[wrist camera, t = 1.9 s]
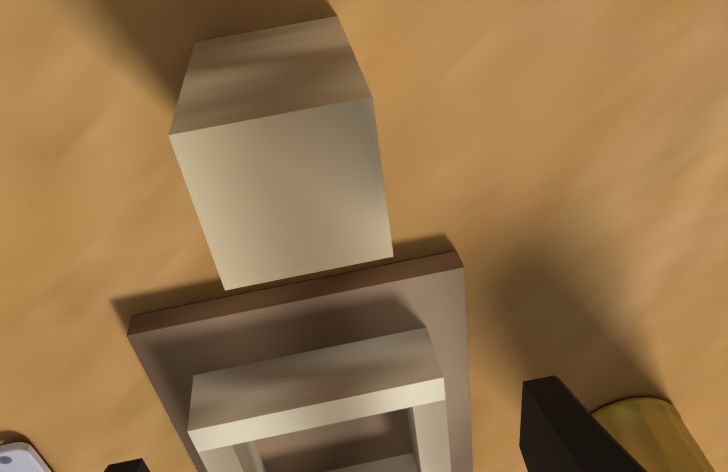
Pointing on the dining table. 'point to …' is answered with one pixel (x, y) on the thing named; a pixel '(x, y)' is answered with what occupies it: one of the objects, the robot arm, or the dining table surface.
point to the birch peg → (282, 153)
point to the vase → (653, 435)
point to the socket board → (320, 373)
